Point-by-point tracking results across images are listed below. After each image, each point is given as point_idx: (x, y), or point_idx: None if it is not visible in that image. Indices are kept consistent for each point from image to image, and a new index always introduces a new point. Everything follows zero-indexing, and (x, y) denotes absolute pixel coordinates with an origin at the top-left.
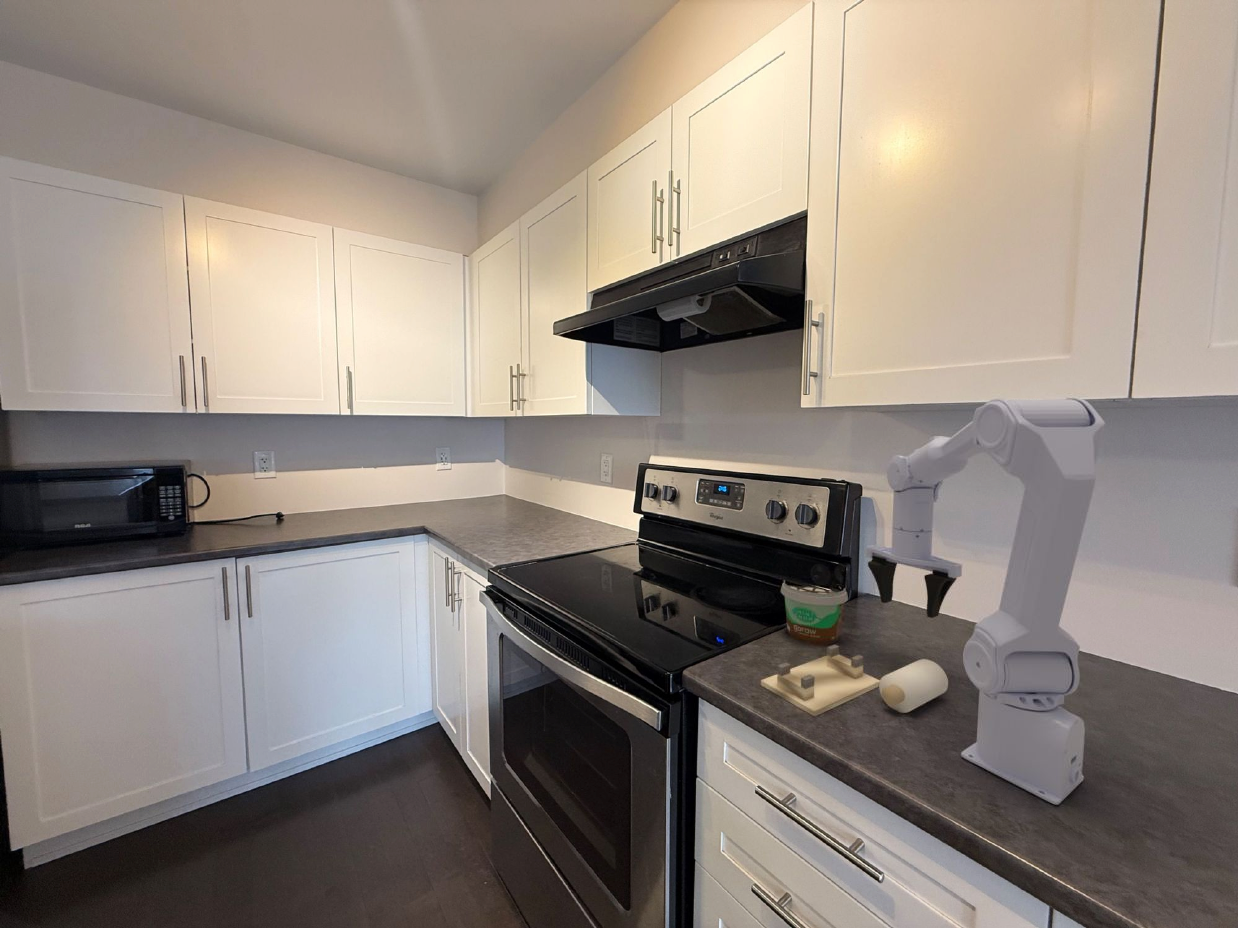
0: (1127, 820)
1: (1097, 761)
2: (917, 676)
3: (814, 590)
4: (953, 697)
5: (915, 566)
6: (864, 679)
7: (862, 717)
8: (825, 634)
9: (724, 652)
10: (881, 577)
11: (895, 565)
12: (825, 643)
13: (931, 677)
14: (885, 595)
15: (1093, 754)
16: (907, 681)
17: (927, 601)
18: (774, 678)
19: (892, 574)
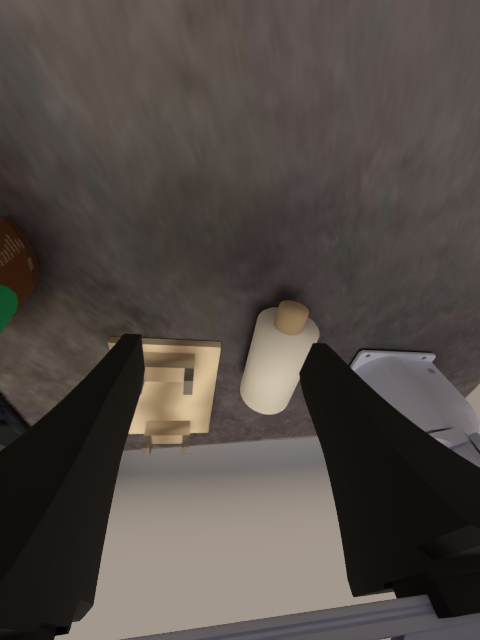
0: (444, 374)
1: (465, 312)
2: (289, 392)
3: None
4: (315, 294)
5: (293, 625)
6: (202, 360)
7: (240, 402)
8: (26, 294)
9: (21, 415)
10: (110, 506)
11: (42, 532)
12: (38, 278)
13: None
14: (136, 392)
15: (468, 301)
16: (282, 408)
17: (317, 433)
18: (132, 424)
19: (87, 458)
